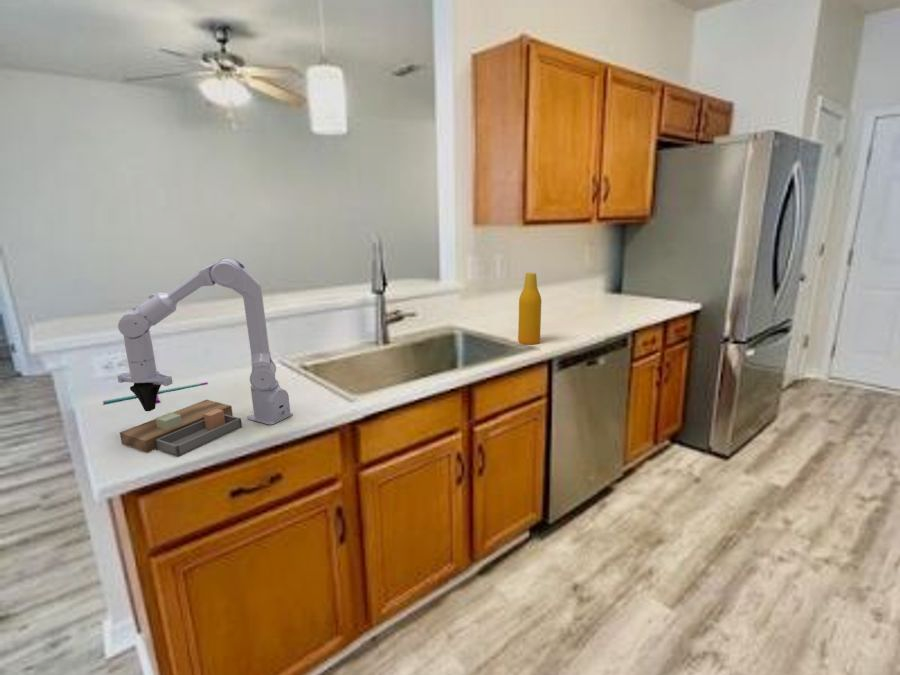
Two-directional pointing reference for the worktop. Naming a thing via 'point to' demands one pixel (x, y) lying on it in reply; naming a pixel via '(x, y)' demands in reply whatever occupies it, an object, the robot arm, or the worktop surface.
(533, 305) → the beer bottle
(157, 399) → the squeegee
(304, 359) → the worktop surface
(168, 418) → the tile sage
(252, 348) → the robot arm
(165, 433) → the board
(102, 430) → the worktop surface
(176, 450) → the tray
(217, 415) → the tile terracotta
